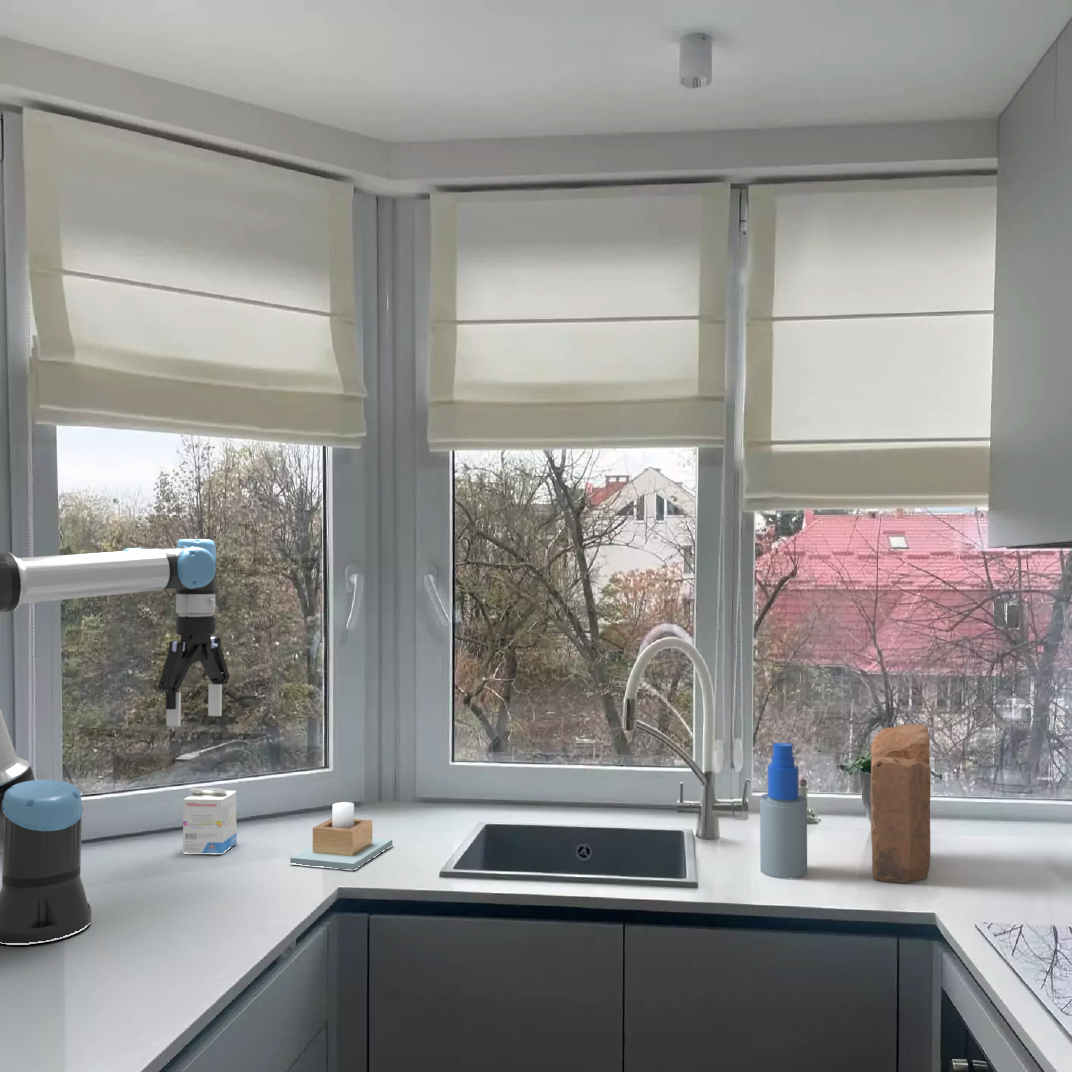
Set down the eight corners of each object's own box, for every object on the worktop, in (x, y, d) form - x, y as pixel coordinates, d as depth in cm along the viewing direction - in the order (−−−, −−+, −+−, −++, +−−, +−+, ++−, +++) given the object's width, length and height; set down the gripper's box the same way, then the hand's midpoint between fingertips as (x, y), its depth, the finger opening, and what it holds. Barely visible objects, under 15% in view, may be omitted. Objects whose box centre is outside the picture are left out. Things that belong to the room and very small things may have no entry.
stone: (935, 888, 184) (933, 735, 186) (871, 882, 188) (869, 732, 190) (928, 860, 205) (926, 722, 207) (870, 855, 208) (869, 720, 210)
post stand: (353, 871, 195) (353, 817, 195) (290, 865, 199) (290, 812, 199) (392, 846, 212) (392, 797, 212) (333, 841, 216) (333, 792, 216)
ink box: (237, 844, 214) (238, 782, 214) (221, 856, 205) (222, 790, 206) (199, 843, 214) (199, 781, 215) (181, 855, 206) (182, 790, 207)
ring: (352, 856, 200) (352, 831, 200) (312, 852, 202) (312, 827, 203) (372, 844, 209) (372, 820, 209) (333, 840, 211) (333, 817, 211)
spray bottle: (805, 866, 198) (804, 740, 199) (808, 880, 190) (807, 748, 190) (760, 863, 200) (759, 739, 201) (761, 877, 191) (760, 747, 192)
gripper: (172, 618, 188) (171, 731, 187) (246, 612, 212) (246, 712, 211) (139, 617, 190) (137, 729, 189) (216, 612, 214) (215, 711, 213)
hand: (194, 720), depth 200 cm, fingers open, 13 cm apart
